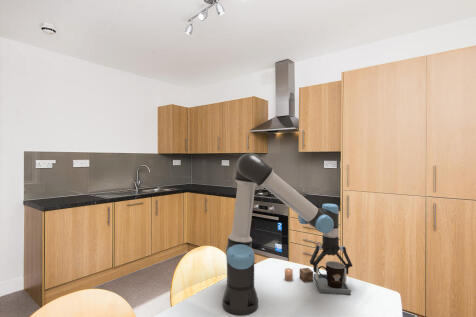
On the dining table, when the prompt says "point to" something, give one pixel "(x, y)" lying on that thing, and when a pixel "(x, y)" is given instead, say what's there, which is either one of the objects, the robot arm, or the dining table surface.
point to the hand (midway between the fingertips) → (330, 279)
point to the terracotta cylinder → (288, 274)
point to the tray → (326, 289)
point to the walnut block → (306, 275)
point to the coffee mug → (334, 274)
